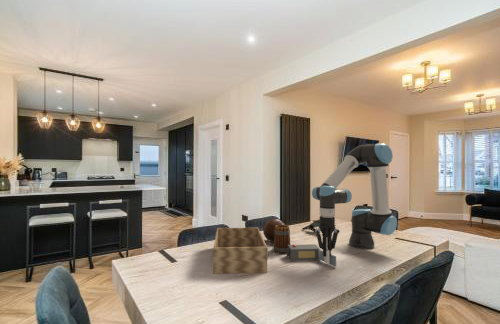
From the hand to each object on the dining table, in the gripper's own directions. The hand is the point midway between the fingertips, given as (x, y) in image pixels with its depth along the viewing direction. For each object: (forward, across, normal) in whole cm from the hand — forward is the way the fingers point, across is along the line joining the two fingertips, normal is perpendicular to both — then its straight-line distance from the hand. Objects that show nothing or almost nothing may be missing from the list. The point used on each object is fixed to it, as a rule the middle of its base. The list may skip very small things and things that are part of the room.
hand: (326, 262), depth 134 cm
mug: (+2, -15, +28) cm, 32 cm away
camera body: (+2, -7, +14) cm, 15 cm away
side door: (+2, +2, +3) cm, 4 cm away
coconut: (+2, -15, +45) cm, 48 cm away
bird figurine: (+2, +21, +64) cm, 68 cm away
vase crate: (+2, -43, +18) cm, 47 cm away
